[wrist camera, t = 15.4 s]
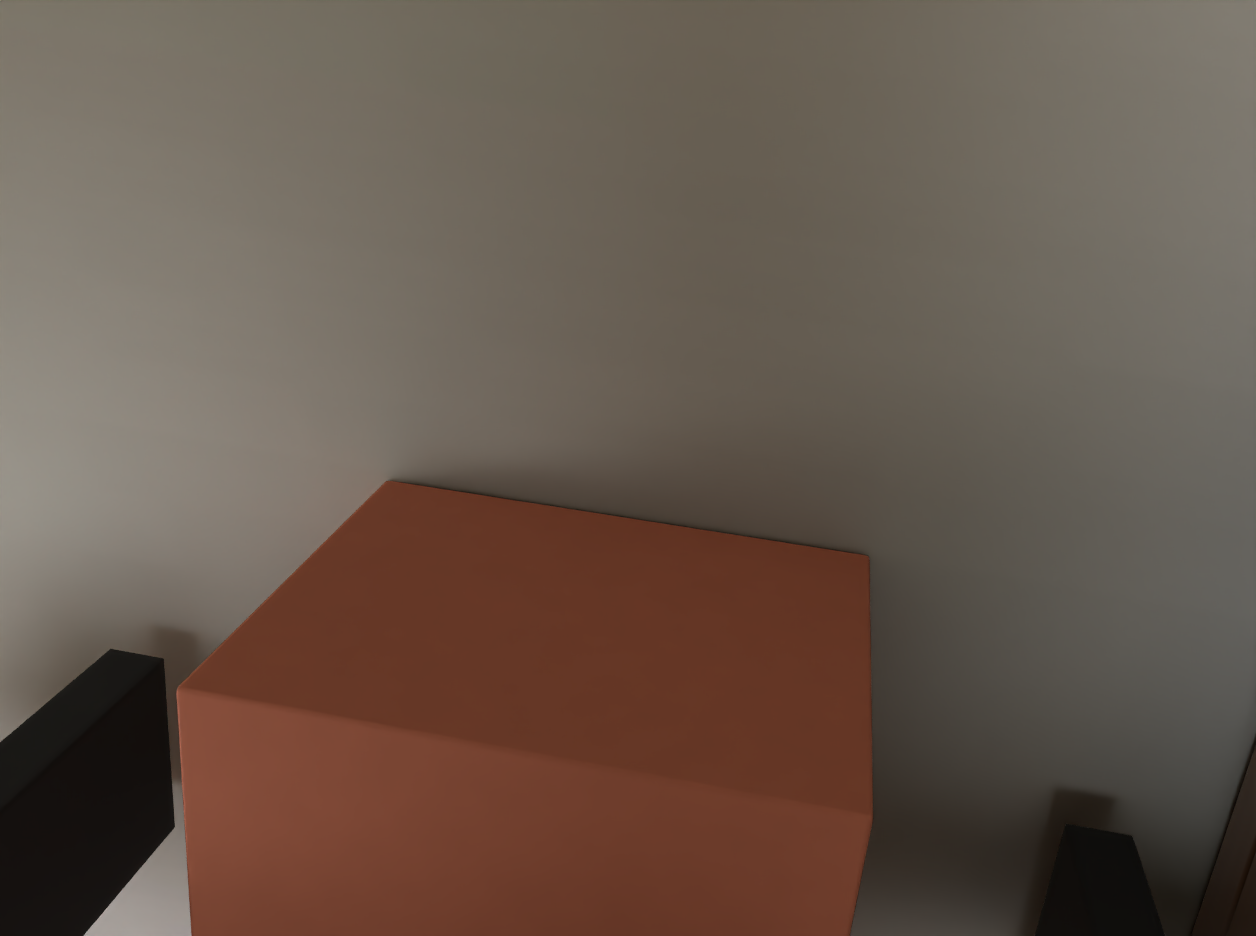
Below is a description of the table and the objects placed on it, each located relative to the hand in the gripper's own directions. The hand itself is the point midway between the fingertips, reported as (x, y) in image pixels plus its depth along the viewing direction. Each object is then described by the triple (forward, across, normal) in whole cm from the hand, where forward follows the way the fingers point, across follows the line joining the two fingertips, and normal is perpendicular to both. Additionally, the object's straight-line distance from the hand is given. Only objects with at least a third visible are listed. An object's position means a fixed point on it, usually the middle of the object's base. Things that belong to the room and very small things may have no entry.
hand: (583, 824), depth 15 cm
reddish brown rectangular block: (+1, 0, 0) cm, 1 cm away
